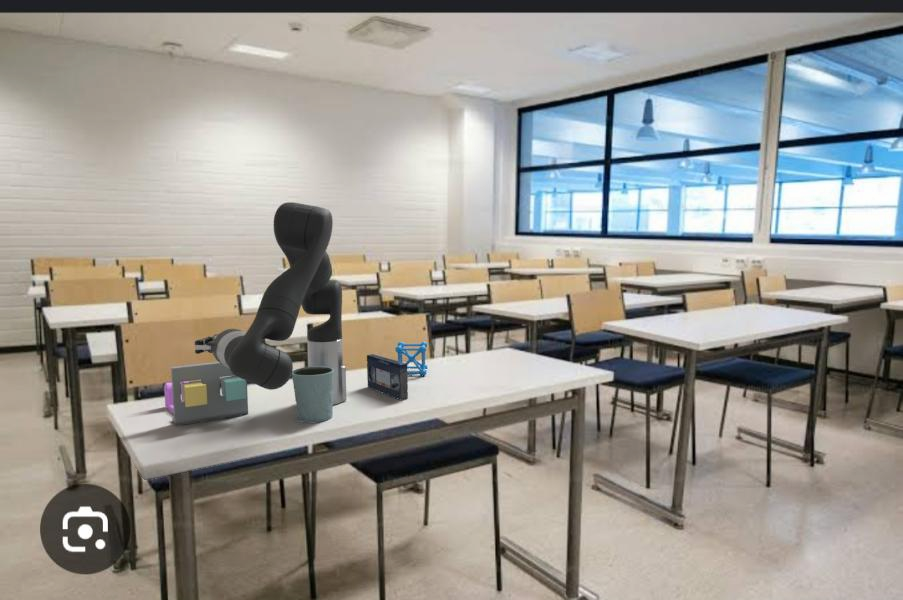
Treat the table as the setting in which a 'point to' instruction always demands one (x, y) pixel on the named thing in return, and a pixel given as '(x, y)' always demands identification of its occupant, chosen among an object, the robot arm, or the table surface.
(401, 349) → the molecular structure
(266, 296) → the robot arm
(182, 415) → the panel
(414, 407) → the table surface
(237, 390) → the teal button
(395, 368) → the vhs cassette tape
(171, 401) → the bracket
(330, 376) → the teal cup
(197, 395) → the mustard button
